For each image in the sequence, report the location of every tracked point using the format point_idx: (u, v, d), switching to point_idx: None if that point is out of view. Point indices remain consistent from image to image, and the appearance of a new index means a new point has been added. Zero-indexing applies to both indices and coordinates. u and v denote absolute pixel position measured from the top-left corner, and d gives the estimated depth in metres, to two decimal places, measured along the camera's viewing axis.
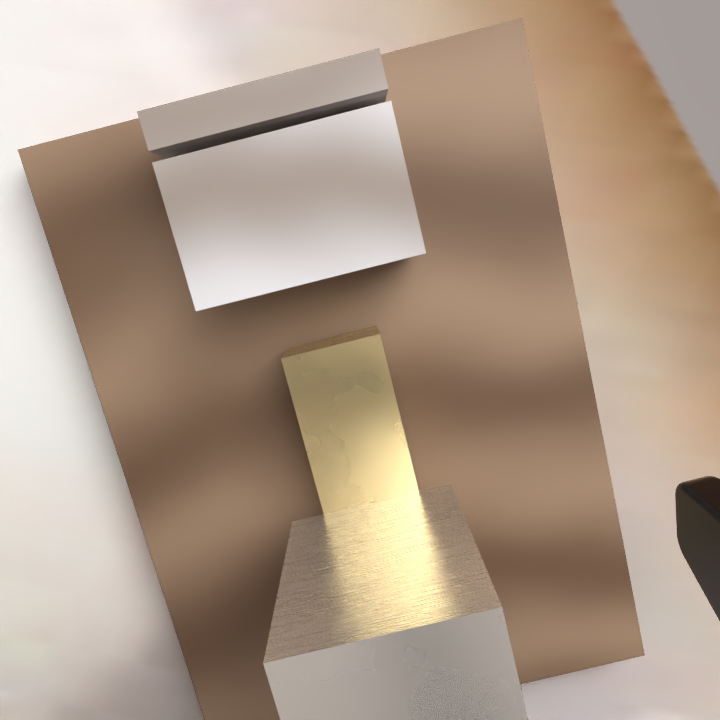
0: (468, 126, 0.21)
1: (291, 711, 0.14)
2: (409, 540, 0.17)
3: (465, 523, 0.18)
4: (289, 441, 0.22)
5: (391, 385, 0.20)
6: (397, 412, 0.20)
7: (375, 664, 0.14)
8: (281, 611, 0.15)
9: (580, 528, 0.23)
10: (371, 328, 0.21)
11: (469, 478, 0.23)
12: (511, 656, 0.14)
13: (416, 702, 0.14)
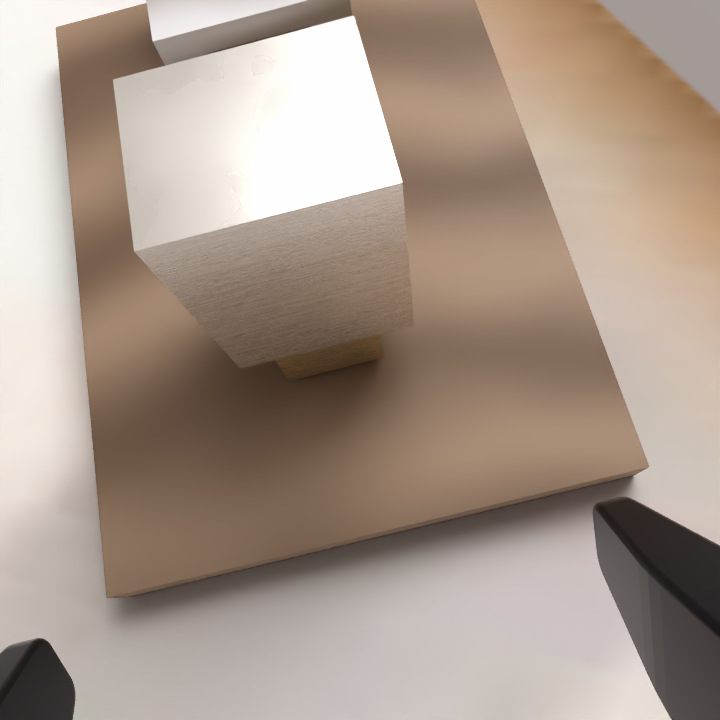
0: None
1: (132, 123, 0.13)
2: None
3: None
4: None
5: None
6: None
7: (224, 75, 0.13)
8: None
9: (543, 309, 0.21)
10: None
11: (417, 259, 0.22)
12: (364, 59, 0.13)
13: (263, 109, 0.13)
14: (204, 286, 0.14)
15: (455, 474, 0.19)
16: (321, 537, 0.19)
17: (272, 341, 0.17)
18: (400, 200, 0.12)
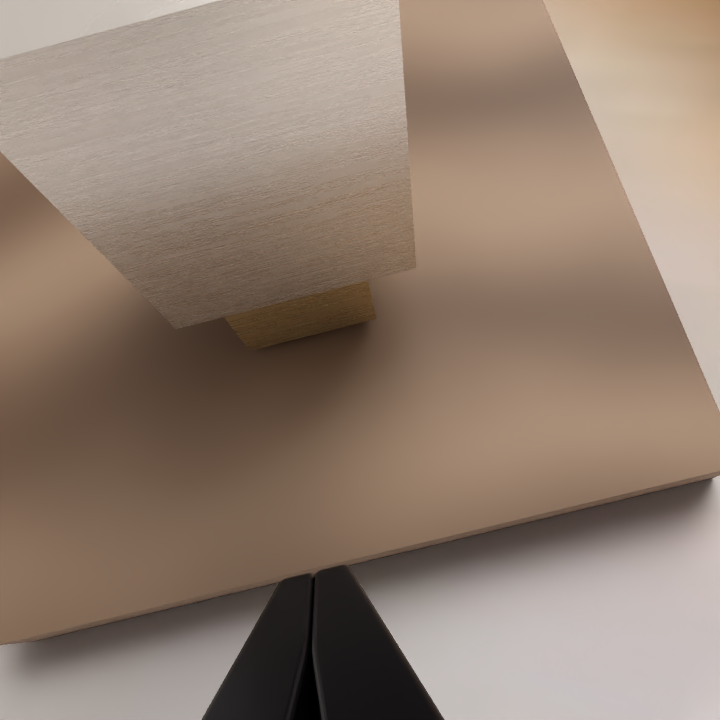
0: None
1: None
2: None
3: None
4: None
5: None
6: None
7: None
8: None
9: (588, 255, 0.16)
10: None
11: (420, 194, 0.17)
12: None
13: None
14: (82, 171, 0.09)
15: (473, 476, 0.14)
16: (289, 562, 0.14)
17: (214, 284, 0.12)
18: (392, 1, 0.07)
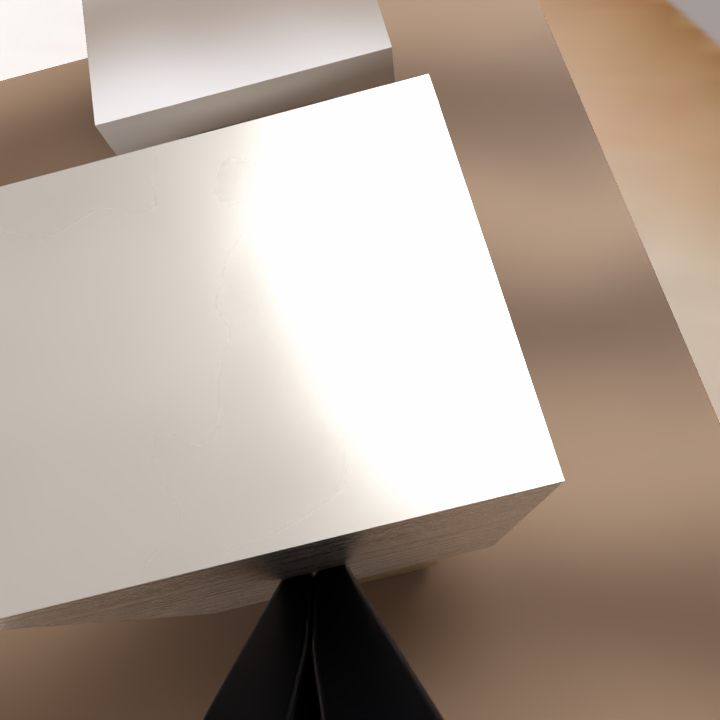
0: (462, 33, 0.18)
1: None
2: None
3: None
4: None
5: None
6: None
7: (157, 199, 0.06)
8: None
9: (695, 538, 0.13)
10: None
11: None
12: (456, 170, 0.06)
13: (237, 279, 0.06)
14: (123, 610, 0.07)
15: None
16: None
17: (265, 596, 0.10)
18: (545, 493, 0.06)
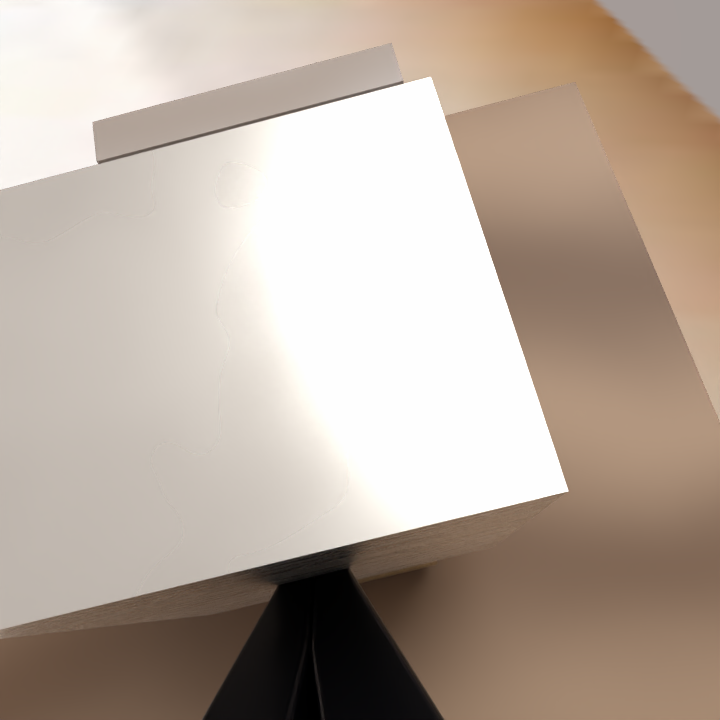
0: (520, 189, 0.16)
1: None
2: None
3: None
4: None
5: None
6: None
7: (156, 203, 0.06)
8: None
9: None
10: None
11: (574, 716, 0.13)
12: (458, 175, 0.06)
13: (238, 286, 0.06)
14: (125, 616, 0.07)
15: None
16: None
17: (265, 598, 0.10)
18: (548, 502, 0.06)
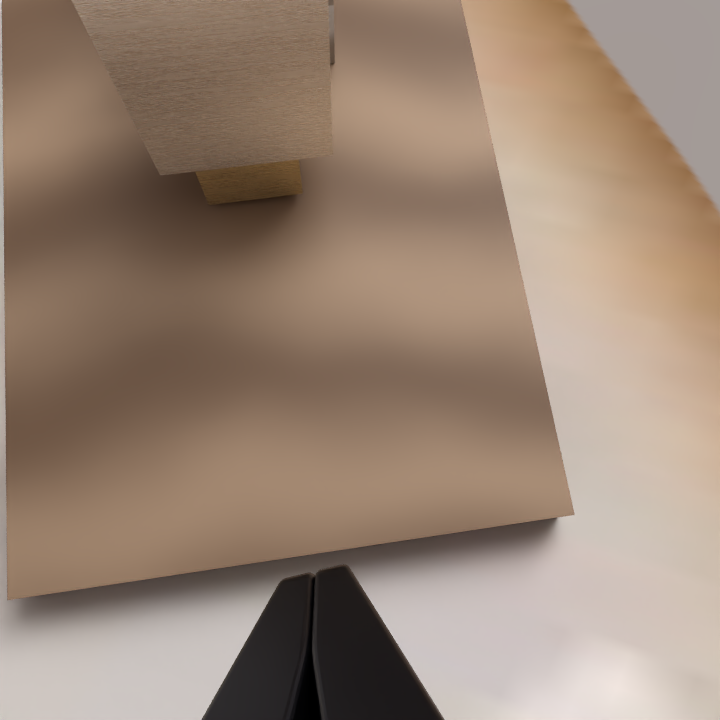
0: None
1: None
2: None
3: None
4: (186, 216, 0.21)
5: None
6: None
7: None
8: None
9: (492, 343, 0.21)
10: None
11: (371, 275, 0.21)
12: None
13: None
14: (128, 47, 0.14)
15: (386, 503, 0.19)
16: (242, 556, 0.19)
17: (193, 143, 0.18)
18: None
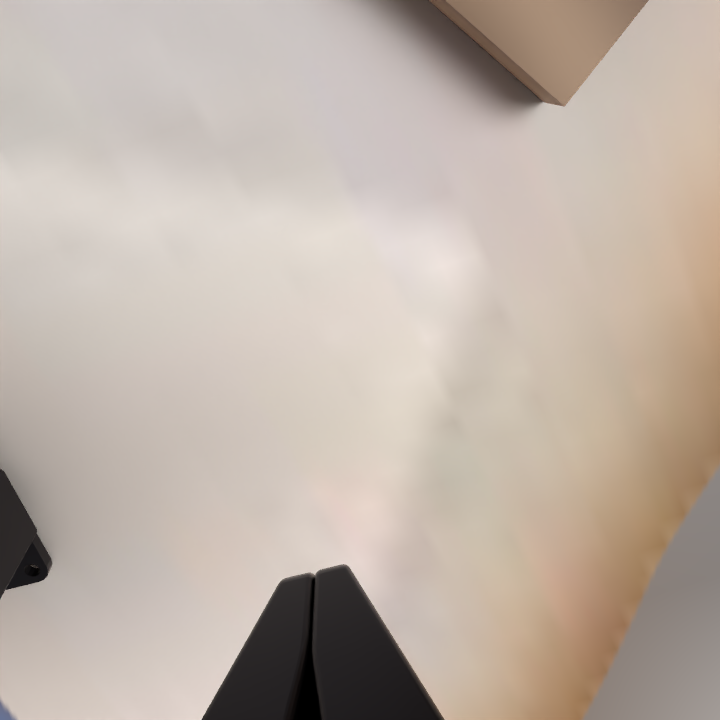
0: None
1: None
2: None
3: None
4: None
5: None
6: None
7: None
8: None
9: None
10: None
11: None
12: None
13: None
14: None
15: None
16: None
17: None
18: None
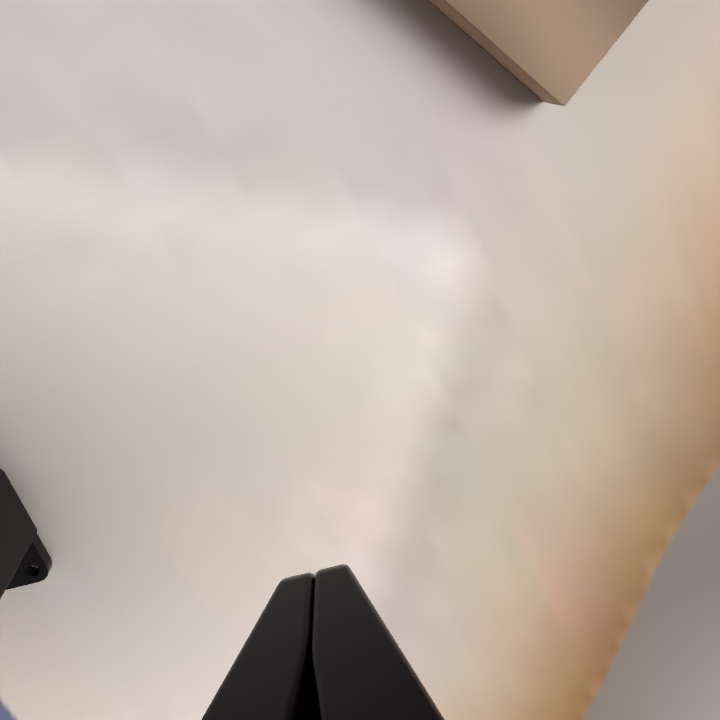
0: None
1: None
2: None
3: None
4: None
5: None
6: None
7: None
8: None
9: None
10: None
11: None
12: None
13: None
14: None
15: None
16: None
17: None
18: None
